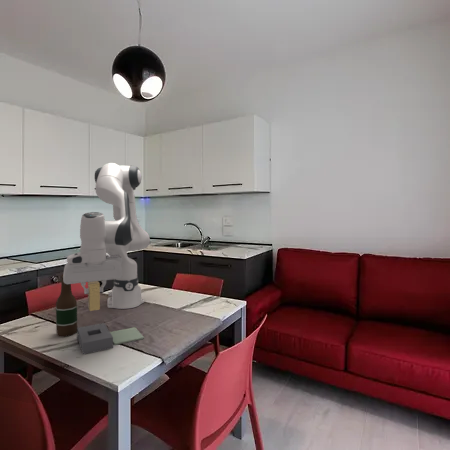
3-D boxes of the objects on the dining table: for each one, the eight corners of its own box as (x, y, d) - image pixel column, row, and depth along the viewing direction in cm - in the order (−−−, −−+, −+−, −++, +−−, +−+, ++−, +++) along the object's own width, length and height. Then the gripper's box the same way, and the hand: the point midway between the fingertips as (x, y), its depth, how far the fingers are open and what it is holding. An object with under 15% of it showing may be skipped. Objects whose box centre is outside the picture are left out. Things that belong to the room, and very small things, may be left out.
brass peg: (88, 308, 118) (88, 282, 118) (98, 306, 120) (97, 281, 119) (89, 311, 115) (89, 284, 115) (99, 309, 117) (99, 283, 116)
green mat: (107, 333, 126) (107, 332, 126) (135, 328, 132) (135, 327, 132) (114, 345, 116) (114, 343, 116) (143, 338, 122) (143, 337, 122)
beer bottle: (63, 338, 121) (62, 277, 120) (52, 334, 126) (50, 275, 124) (81, 332, 128) (80, 273, 127) (70, 328, 132) (69, 271, 131)
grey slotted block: (77, 337, 122) (77, 327, 122) (104, 332, 128) (104, 323, 127) (83, 354, 109) (82, 343, 109) (113, 347, 114) (112, 337, 114)
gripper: (120, 253, 125) (120, 287, 125) (62, 256, 114) (62, 294, 115) (124, 255, 119) (124, 291, 120) (63, 259, 108) (64, 299, 109)
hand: (93, 292), depth 117 cm, fingers closed on brass peg, 3 cm apart
